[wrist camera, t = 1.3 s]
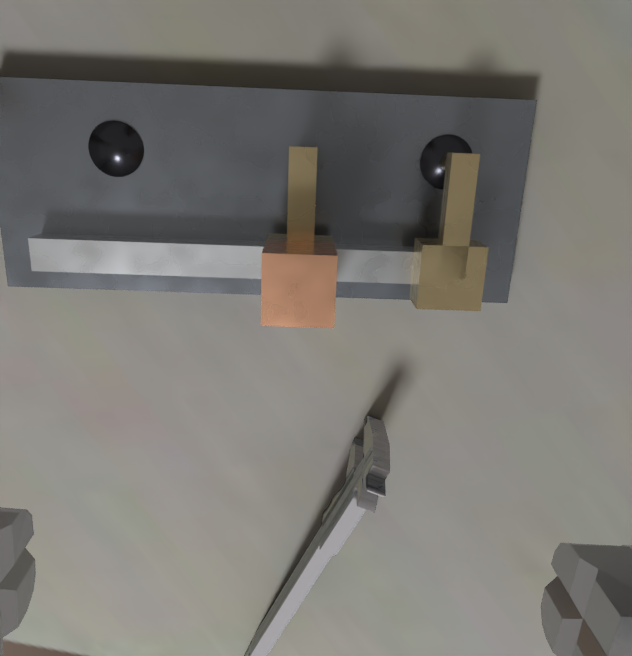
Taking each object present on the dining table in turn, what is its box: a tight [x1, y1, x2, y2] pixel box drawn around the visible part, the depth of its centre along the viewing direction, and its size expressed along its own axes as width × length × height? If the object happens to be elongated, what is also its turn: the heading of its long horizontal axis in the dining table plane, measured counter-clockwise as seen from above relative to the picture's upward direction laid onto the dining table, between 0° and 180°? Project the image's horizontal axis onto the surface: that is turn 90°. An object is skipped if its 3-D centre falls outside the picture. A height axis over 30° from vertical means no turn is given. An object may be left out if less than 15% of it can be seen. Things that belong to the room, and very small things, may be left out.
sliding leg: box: [261, 146, 338, 328], centre depth 26 cm, size 3×7×6 cm, turn 178°
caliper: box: [244, 416, 390, 656], centre depth 35 cm, size 20×1×6 cm, turn 156°
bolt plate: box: [0, 77, 537, 311], centre depth 28 cm, size 26×10×5 cm, turn 88°
